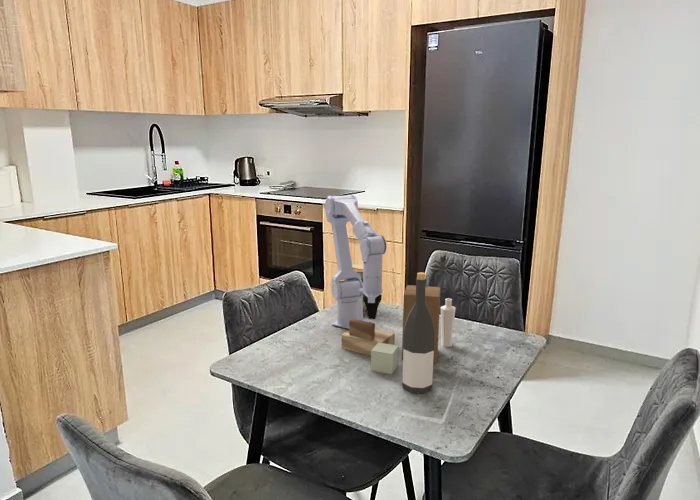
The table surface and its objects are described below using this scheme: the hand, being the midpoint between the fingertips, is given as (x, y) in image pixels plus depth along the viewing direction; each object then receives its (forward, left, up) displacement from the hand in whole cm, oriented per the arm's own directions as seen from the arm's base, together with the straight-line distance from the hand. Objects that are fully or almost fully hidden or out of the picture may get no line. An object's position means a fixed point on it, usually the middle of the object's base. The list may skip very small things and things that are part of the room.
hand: (372, 318), depth 149 cm
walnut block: (+6, 0, -4) cm, 7 cm away
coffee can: (-25, -20, -9) cm, 33 cm away
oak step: (+2, 0, -9) cm, 9 cm away
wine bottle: (+17, +23, -9) cm, 30 cm away
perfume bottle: (-12, +20, -9) cm, 25 cm away
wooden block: (-1, +16, -9) cm, 18 cm away
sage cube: (+12, +11, -9) cm, 19 cm away
